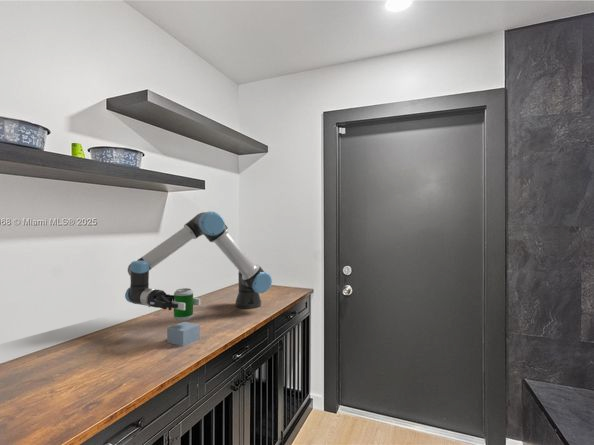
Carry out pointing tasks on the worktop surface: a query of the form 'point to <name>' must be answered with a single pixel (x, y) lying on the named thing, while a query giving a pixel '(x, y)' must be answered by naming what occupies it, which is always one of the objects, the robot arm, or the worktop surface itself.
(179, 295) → the soda can
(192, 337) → the base block
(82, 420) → the worktop surface
